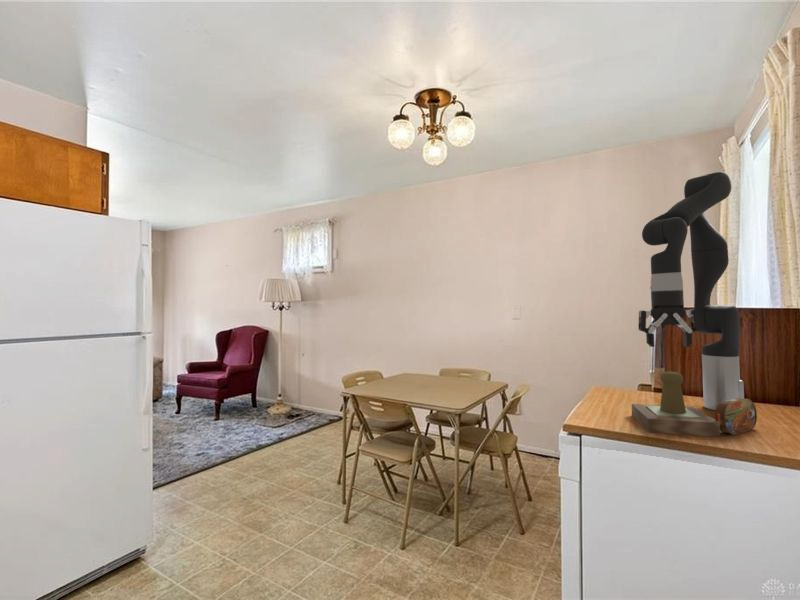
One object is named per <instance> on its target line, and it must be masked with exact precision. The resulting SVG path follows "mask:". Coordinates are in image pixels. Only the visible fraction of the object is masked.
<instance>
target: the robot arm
mask: <svg viewBox="0 0 800 600" xmlns="http://www.w3.org/2000/svg"><path fill="white" fill-rule="evenodd" d="M732 186H733V185H732V179H731V177H730V175H729V174H728V173H726V172H724V171H715V172H711V173H707V174H703V175H699V176H695V177H692V178H690V179H688V180H686V182H685V184H684V189H683V190H684V191H683V195H684V198H683V199H682V200H680V201H678V202H676V203H675V204H674V205H673V206H671V207H670V208H669V210H667V211H666V212H665V213H663V214H660V215H658V216H656V217H654V218H653V219H651V220H650V221H648V222H647V223H646V224H645V225H644V227H643V228H642V232H641V237H642V240H643V241H644V243H646V244H647V245H649V246H661V245H662V246H663V245H666V248H665V249H664V250H663V251H660V252H658V253H655V254H653V255H652V256H651V257H650V272H651V275H650V276H651V277H650V288H649V289H650V298H651V299H650V301H651V309H650V310H649V311H648V310H642V309H641V310H639V311H638V329H637V330H638V331H641V332H643V333H645V334H646V335H645V336H646V337H645V338H646V339H645V340H646V344H647V345H648V346H649V347H651V348H654V347H655V335H654V332H655V331H656V329H657V328H659V327H660V326H669V325H670V326H677V327H679V328H680V329H681V330H682V331H683V333H682V336H683V337H682V339H683V347H686V348H690V346H691V345H692V344H693V338H692V337H693V335H692V334H693V333H694V332H699V333H701V334H712V335H713V334H716V335H718V334H719V335H721V338H720V339H719V340H718V341H715V342H712V343H707V344H704V345H702V346H701V363H702V364H701V365H702V366H701V367H702V389H703V391H702V393H703V396H702V397H703V398H702V399H703V400H702V401H703V407H704V408H706V409H708V410H712V411H715V410H716V407H717V405H718V404H719V403H720V402H723V401H727V400H731V399H735V398H743V399H745V390H744V389H745V388H744V381H743V380H742V379H741V375H740V374H741V373H740V370H741V369H740V345H741V344H740V343H741V341H740V339H741V338H740V337H741V335H740V331H741V330H740V329H741V314H740V311H739V309H738V308H737V307H736V306H735V305H731V304H723V305H721V304H720V305H719V304H717V305H716V304H714V305H711V297H712V292H713V289H714V288H715V286H716V284H717V283H718V281H719V280H721V279H720V278H721V277H722V276H723V274H724V273H725V271H726V270H727V268H728V266H729V262H730V261H729V249H728V248H729V246H728V242H727V240H726V239H725V238H724V236H723V235H722V234H721V233H720V232H719V230H717V229H716V228H715V226H713V225H712V224H711V222H710V221H709V220H708V219H707V217H706V214H705V212H707V211H708V210H709V209H710V208H712V207H714V206H715V205H717V204H719V203H721V202H723V201H725V200H726V199H727V198H728V197H729V196H730V194H731V191H732ZM688 227H689V229H688ZM688 230H689V231H688ZM688 232H689V234H690V252H691V253H690V255H691V265H692V272H693V273H692V274H693V275H692V276H693V286H694V288H693V290H694V295H693V296H694V297H693V298H694V300H693V301H694V303H693V307H694V308H693V309H692V308H690V309H686V310H685V308H684V307H685V304H684V300H685V299H684V281H683V276H682V262H681V261H682V254H683V250H684V245H685V243H686V239H687V235H688ZM650 316H651V317H652V321H651V322H650V323H649V326H648V327H647V319H648V318H649V317H650ZM685 316H687V317H688V318H689V320H690V326H689V325H688V323H687V322H686V321H685V320H684V319H683V318H684V317H685Z"/></svg>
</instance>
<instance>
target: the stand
mask: <svg viewBox="0 0 800 600" xmlns="http://www.w3.org/2000/svg"><path fill="white" fill-rule="evenodd" d="M660 405H661V404H645V403H643V404H642V403H631V415H632V417H633V418H634V419H635V420H636V421H637V422H638V423H639V424H640V425H641V426H642V427H643V429H645V430H646V431H647V432H648V433H656V434H669V433H670V434H671V435H683V436H686V435H687V436H701V437H702V436H703V437H714V438H715V437H717V438H721V431H720V423H719V422H718V421H716V419H714V418H713V417H711V416H709V415H707V414H706V413H704V412H702V411H701V410H700V409H698V408H696V407H694V406H691V405H690V406H688V405H687V406H686V405H685V410H686V413H685V414H673V413H667V412H663V411H661V410H660Z"/></svg>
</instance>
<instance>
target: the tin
mask: <svg viewBox="0 0 800 600" xmlns="http://www.w3.org/2000/svg"><path fill="white" fill-rule="evenodd" d="M757 411H758V410H757V408H756V405H755V403H754V402H753V401H752V400H751V399H750V398H744V399H743V398H735V399H731V400H727V401H723V402H720V403H719V404H718V405H717V407H716V410H714V414H715V420H716V421H718V422H719V423H720V433H721V432H722V433H724V434H730V435H732V436H737V435H740V434H742V433H746V432H749V431H752V430H754V429H755V426H756V425H757V418H758V415H757V414H758V413H757Z"/></svg>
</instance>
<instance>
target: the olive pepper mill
mask: <svg viewBox="0 0 800 600" xmlns="http://www.w3.org/2000/svg"><path fill="white" fill-rule="evenodd" d="M660 381H661V382H662V389H661V398H660V404H659V405H660V410H661V411H663V412H667V413H673V414H685V413H686V410H685V406H686V405H685V401H684V396H683V390H682V383H683V381H684V377H683V375H682V374H681V373H680V372H676V371H664V372H662V373H661V374H660Z"/></svg>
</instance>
